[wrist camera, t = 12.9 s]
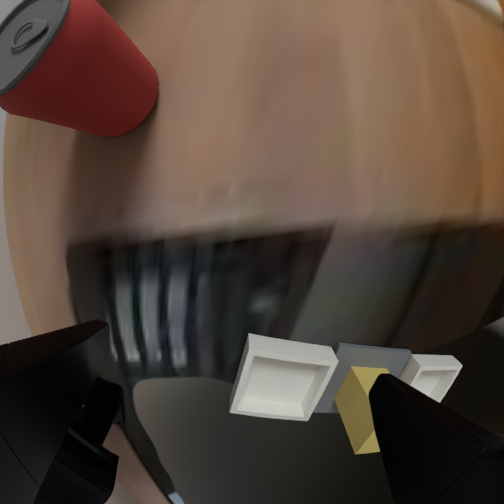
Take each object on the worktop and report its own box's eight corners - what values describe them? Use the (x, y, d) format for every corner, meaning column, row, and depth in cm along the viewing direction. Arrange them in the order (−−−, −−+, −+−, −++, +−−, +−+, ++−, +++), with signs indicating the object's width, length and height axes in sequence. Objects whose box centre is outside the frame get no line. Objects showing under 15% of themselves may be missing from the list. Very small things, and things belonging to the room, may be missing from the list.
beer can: (149, 141, 17) (36, 100, 6) (76, 137, 17) (-42, 117, 5) (171, 59, 16) (106, -41, 4) (98, 61, 15) (7, -1, 4)
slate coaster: (374, 409, 24) (375, 412, 23) (306, 408, 23) (307, 412, 23) (409, 349, 22) (411, 352, 21) (338, 342, 21) (340, 345, 21)
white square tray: (423, 403, 24) (431, 414, 22) (379, 406, 24) (387, 419, 21) (452, 355, 23) (462, 365, 20) (410, 354, 22) (421, 366, 20)
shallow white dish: (303, 404, 23) (307, 420, 21) (230, 395, 22) (229, 412, 20) (331, 346, 21) (338, 361, 19) (248, 333, 21) (248, 348, 19)
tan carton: (368, 400, 23) (393, 449, 16) (333, 399, 22) (354, 454, 15) (386, 368, 22) (420, 417, 15) (351, 366, 21) (380, 421, 15)
